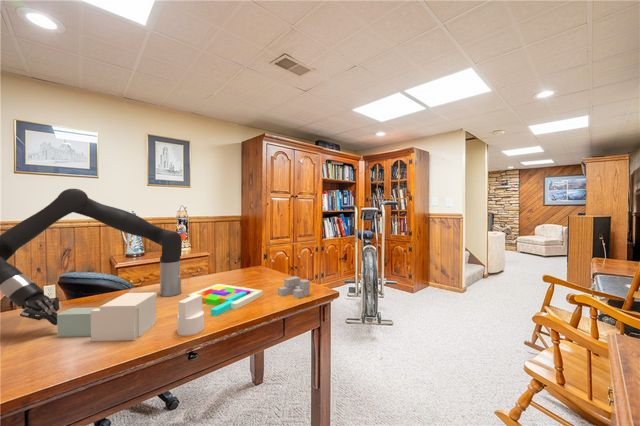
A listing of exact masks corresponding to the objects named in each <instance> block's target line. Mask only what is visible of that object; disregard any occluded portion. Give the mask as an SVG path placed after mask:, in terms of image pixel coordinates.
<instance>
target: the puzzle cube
mask: <svg viewBox="0 0 640 426" xmlns="http://www.w3.org/2000/svg"><path fill="white" fill-rule="evenodd" d="M283 280H284V282H283V283H284V285H283V286H280V287H277V296H281V297H286V296H290V295H292V296H293V298H295V299H297V298H299V299H302V298H301V297H303V298H305V297H304V296H306V297H308V296H307V295H309V296H310V292H311V291H310V290H311V284H310V283H311V282H310V280H308V279H301V277H299V276H292V277H287V278H284V279H283ZM292 293H293V294H292ZM289 294H290V295H289ZM285 295H286V296H285Z"/></svg>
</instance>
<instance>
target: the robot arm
mask: <svg viewBox="0 0 640 426" xmlns="http://www.w3.org/2000/svg"><path fill="white" fill-rule="evenodd" d="M72 213H75V214H78V215H80V216H81V215H82V216H85V217H87V218H88V217H89V218H91V219H93V220H96V221H98V222H100V223H102V224H104V225H106V226H108V227H111V228H113V229H115V230H117V231H120V232H123V233H125V234H129V235H133V236H136V237H141V238H144V239H146V240H150V241H151V242H153V243H156V244H158V245H159V246H161V256H160V257H159V284H160V286H159V289H160V290H159V292H160V293H159V296H160V297H173V296H177V295H181V294H182V276H181V256H182V250H183V248H182V247H183V246H182V245H183V239H182V236H181V234H180V233H178V232H176V231H174V230H169V229H165V228H162V227H160V226H156V225H154V224H152V223H151V222H149V221H147V220H146V219H144V218H142V217H140V216H138V215H136V214H134V213H131V212H130V211H127V210H124V209H121V208H117V207H114V206H110V205H105V204H102V203H100V202H98V201H95V200H93V199H91V198H90V197H89V196H88V195H87V193H86V192H85V191H84V190H81V189H78V188H67V189H65V190H63V191H61V192H60V193H59V195H58V196H57V197H56V198H55V199H54V200H53V201H51V202H50V203H49V204H48V205H46V206H45V207H44V208H42V209H41V210H39V211H38V212H36V213H33V215H31V216H29V217H28V218H26V219H24V220H21V221H20V222H19V223H17V224H15V225H13V226H12V227H11V228H9V229H7V230H6V231H4V232H3V233H1V234H0V291H1V293H2V294H3V295H4V296H5V297H6V298H7V299H9V301H11V302H12V303H13V304H14V305H15V306H17V307H19V308H21V309H22V311H21V313H20V314H19V317H23V318H28V319H32V320H36V321H41V320H47V321H48V322H49V323H50V324H52V325H54V326H57V314H58V313H57V312H58V311H59V310H60V298H59V297H54V298H50V297H49V296H48V295H46V294H44V293H45V291H44V290H43V288H42V287H40V286H39V285H38V284H37V283H36V282H35V281H33V280H32V279H31V278H30V277H28V276H27V275H25V274H24V273H23V272H22V271H21V270H19V269H18V268H17V267H16V266H14V265H12V264H11V263H9V262H7V261H8V260H9V259H10V258H11V257H12V256H13V255H14V254H15V253H16V252H17V251H18V250H19V249H20V248H22V247H23V246H25V245H27V244H28V243H29V242H30V241H33V239H35V238H37V237H38V236H39V235H41V233H43V232H44V231H46V230H47V229H48V228H50V227H51V226H53V225H54V224H55V223H56V222H58V221H60V220H61V219H63V218H65V217H66V216H68V215H70V214H72Z"/></svg>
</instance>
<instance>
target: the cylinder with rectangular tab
mask: <svg viewBox="0 0 640 426" xmlns="http://www.w3.org/2000/svg"><path fill="white" fill-rule="evenodd" d="M176 319H177V320H176V324H177V325H176V327H177V329H176V332H177V335H179V336H183V337H185V336H186V337H187V336H192V335H196V334H199V333H202V331H203V330H204V329H205V313H204V310H203V303H202V295H199V294H195V295H193V296H191V297H188V298H187V297H186V298H183V299H181V300H179V301H178V313H177V316H176Z"/></svg>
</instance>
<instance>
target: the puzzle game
mask: <svg viewBox="0 0 640 426" xmlns="http://www.w3.org/2000/svg"><path fill="white" fill-rule="evenodd" d="M195 294H199V295H202V304H206V305H211V306H214V307H212V308H211V309H210V316H215V317H218V316H220V315H221V314H223V313H225V312H228V311H229V310H231V309H232V310H239V309H240V308H241V307H244V306H245V305H248V304H249V303H251V302H253V301H255V300H256V299H258V298H260V297H262V296H264V290H262V289H255V288H249V287H243V286H234V285H230V284H229V285H228V284H223V283H216V284H213V285H211V286H208V287H206V288H203V289H200V290H197V291H194V292H192V293H191V292H190V293H189V294H187V295H186V298H188V297H191V296H193V295H195Z"/></svg>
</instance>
